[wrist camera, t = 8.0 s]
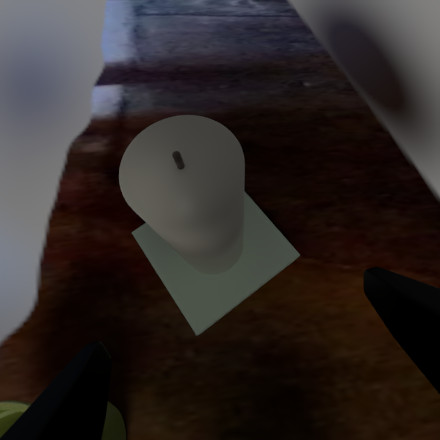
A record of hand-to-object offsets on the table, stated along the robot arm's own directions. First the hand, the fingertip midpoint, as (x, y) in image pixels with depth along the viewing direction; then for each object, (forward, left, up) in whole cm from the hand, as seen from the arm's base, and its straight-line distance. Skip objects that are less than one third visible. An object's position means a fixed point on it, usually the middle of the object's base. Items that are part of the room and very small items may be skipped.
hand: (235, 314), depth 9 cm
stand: (+6, -2, -14) cm, 15 cm away
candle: (+6, -2, -12) cm, 13 cm away
